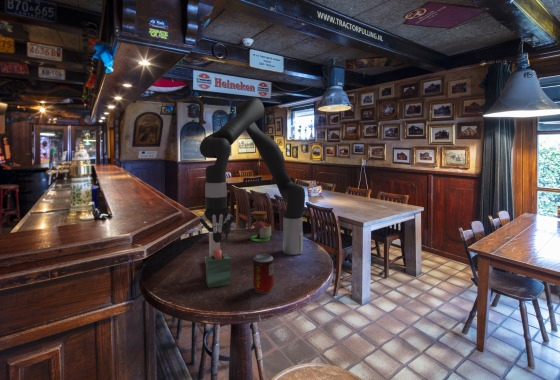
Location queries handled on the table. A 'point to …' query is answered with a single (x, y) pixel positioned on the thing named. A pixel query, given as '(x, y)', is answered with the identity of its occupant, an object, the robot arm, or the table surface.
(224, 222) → the sundae
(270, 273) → the soda can
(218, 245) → the carriage
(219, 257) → the red rounded capsule
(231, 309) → the table surface
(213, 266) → the rail
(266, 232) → the toy burger
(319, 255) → the table surface
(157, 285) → the table surface
